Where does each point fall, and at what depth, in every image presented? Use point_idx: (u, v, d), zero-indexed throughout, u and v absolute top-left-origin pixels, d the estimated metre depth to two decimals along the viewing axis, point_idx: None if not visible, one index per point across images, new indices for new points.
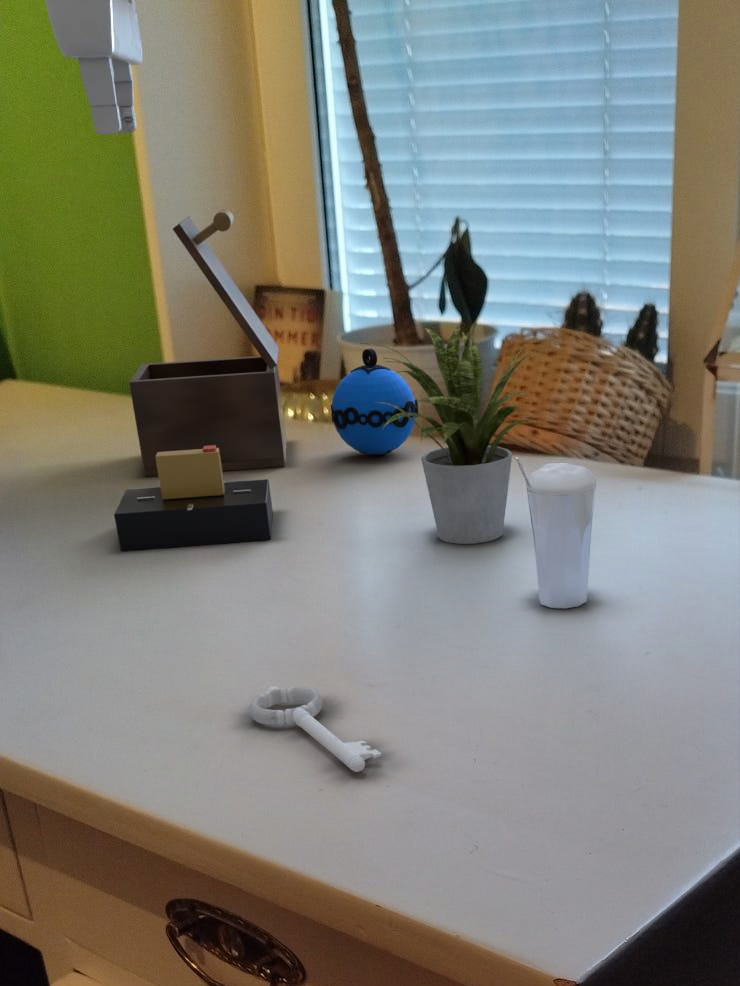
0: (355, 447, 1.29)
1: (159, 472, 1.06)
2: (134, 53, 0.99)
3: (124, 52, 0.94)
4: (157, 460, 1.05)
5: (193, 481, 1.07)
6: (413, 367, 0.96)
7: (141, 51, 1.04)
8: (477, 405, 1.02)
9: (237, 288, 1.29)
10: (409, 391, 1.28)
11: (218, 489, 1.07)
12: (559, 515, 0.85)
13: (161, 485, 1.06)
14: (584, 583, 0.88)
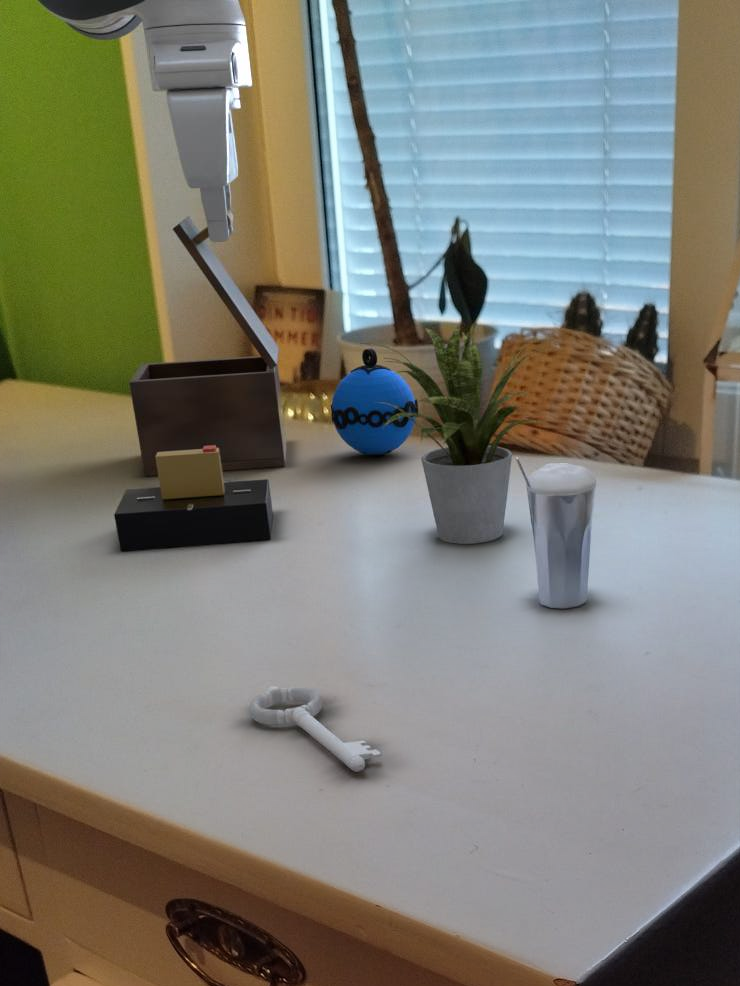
0: (355, 447, 1.29)
1: (159, 472, 1.06)
2: (235, 174, 1.24)
3: None
4: (157, 460, 1.05)
5: (193, 481, 1.07)
6: (413, 367, 0.96)
7: (237, 168, 1.28)
8: (477, 405, 1.02)
9: (237, 288, 1.29)
10: (409, 391, 1.28)
11: (218, 489, 1.07)
12: (559, 515, 0.85)
13: (161, 485, 1.06)
14: (584, 583, 0.88)
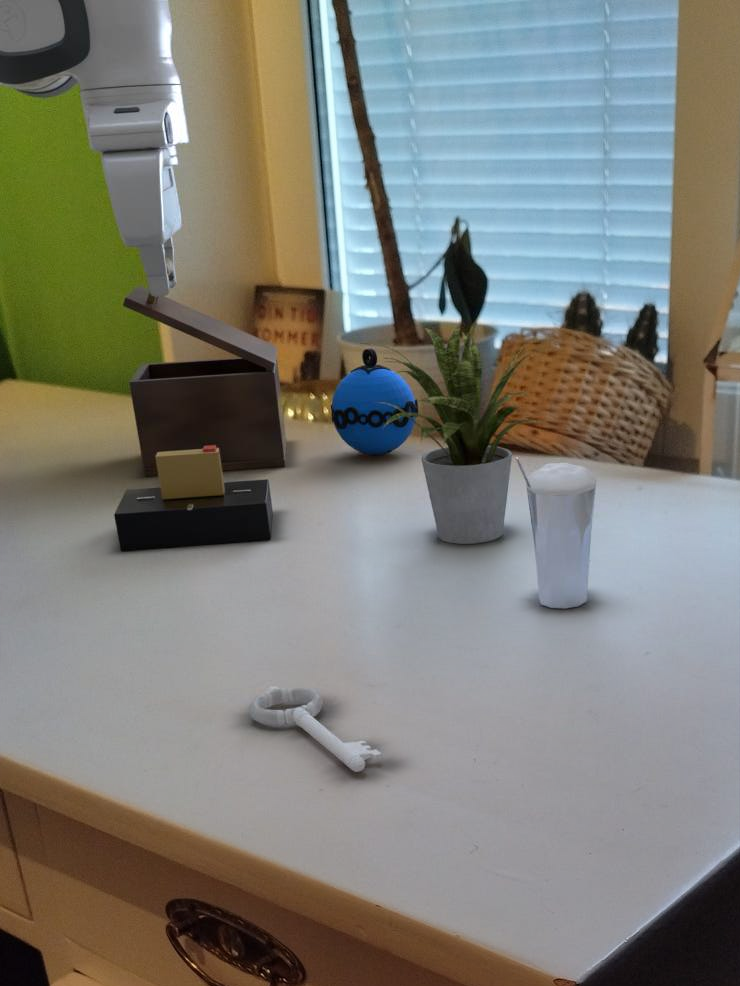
0: (355, 447, 1.29)
1: (159, 472, 1.06)
2: (176, 227, 1.25)
3: (170, 234, 1.20)
4: (157, 460, 1.05)
5: (193, 481, 1.07)
6: (413, 367, 0.96)
7: (180, 220, 1.29)
8: (477, 405, 1.02)
9: (212, 318, 1.31)
10: (409, 391, 1.28)
11: (218, 489, 1.07)
12: (559, 515, 0.85)
13: (161, 485, 1.06)
14: (584, 583, 0.88)
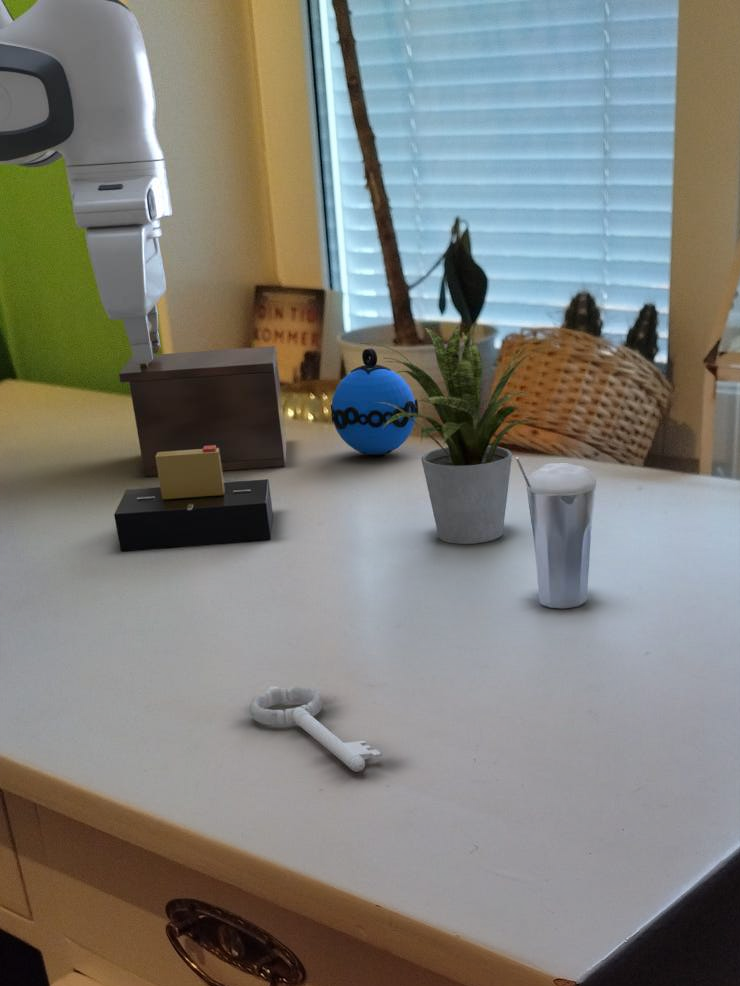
0: (355, 447, 1.29)
1: (159, 472, 1.06)
2: (160, 294, 1.28)
3: (154, 303, 1.23)
4: (157, 460, 1.05)
5: (193, 481, 1.07)
6: (413, 367, 0.96)
7: (165, 284, 1.32)
8: (477, 405, 1.02)
9: (207, 351, 1.32)
10: (409, 391, 1.28)
11: (218, 489, 1.07)
12: (559, 515, 0.85)
13: (161, 485, 1.06)
14: (584, 583, 0.88)
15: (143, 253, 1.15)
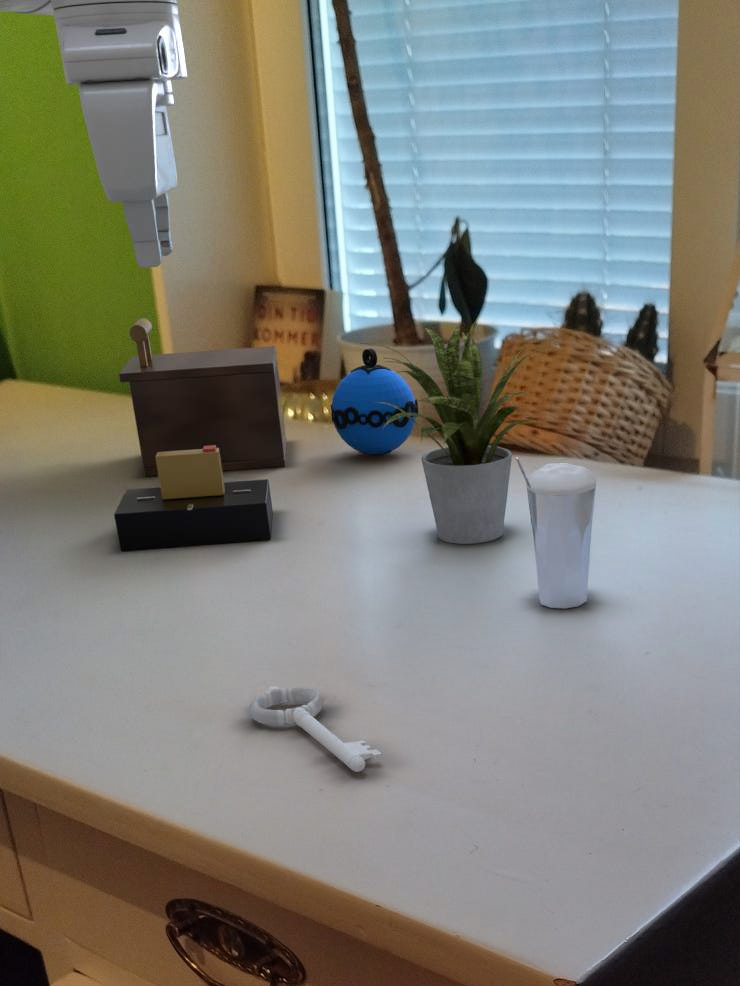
0: (355, 447, 1.29)
1: (159, 472, 1.06)
2: (171, 183, 1.04)
3: (164, 189, 0.98)
4: (157, 460, 1.05)
5: (193, 481, 1.07)
6: (413, 367, 0.96)
7: (176, 176, 1.08)
8: (477, 405, 1.02)
9: (207, 351, 1.32)
10: (409, 391, 1.28)
11: (218, 489, 1.07)
12: (559, 515, 0.85)
13: (161, 485, 1.06)
14: (584, 583, 0.88)
15: (152, 115, 0.91)
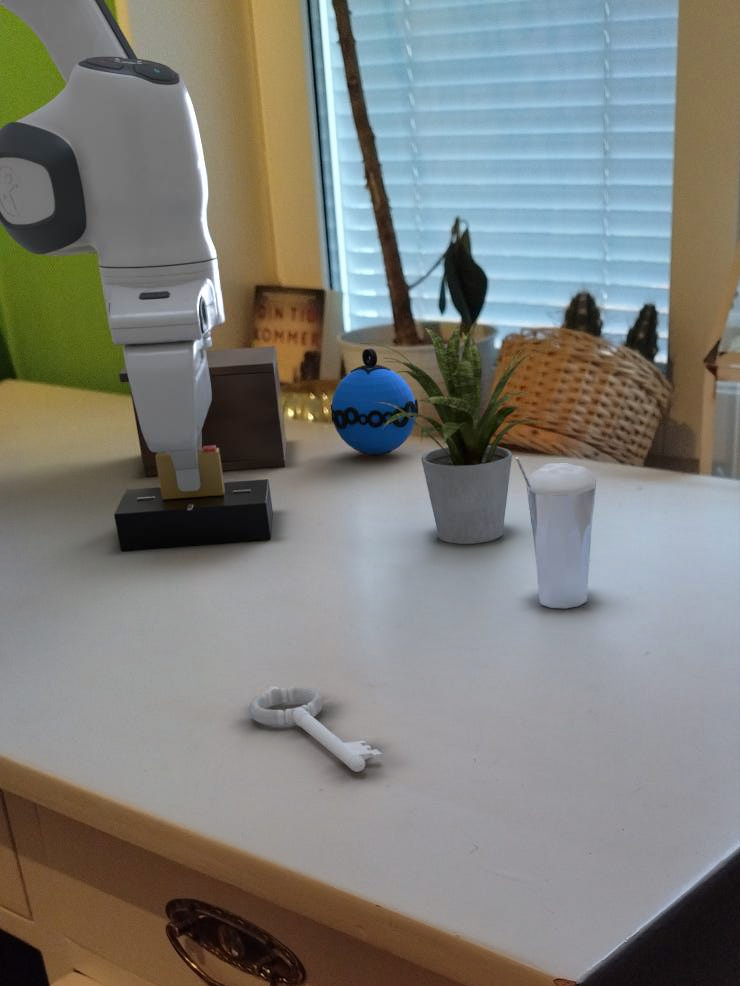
0: (355, 447, 1.29)
1: (159, 472, 1.06)
2: (207, 409, 1.08)
3: (202, 426, 1.03)
4: (157, 460, 1.05)
5: None
6: (413, 367, 0.96)
7: (211, 394, 1.12)
8: (477, 405, 1.02)
9: (207, 351, 1.32)
10: (409, 391, 1.28)
11: (218, 489, 1.07)
12: (559, 515, 0.85)
13: (161, 485, 1.06)
14: (584, 583, 0.88)
15: (193, 376, 0.95)
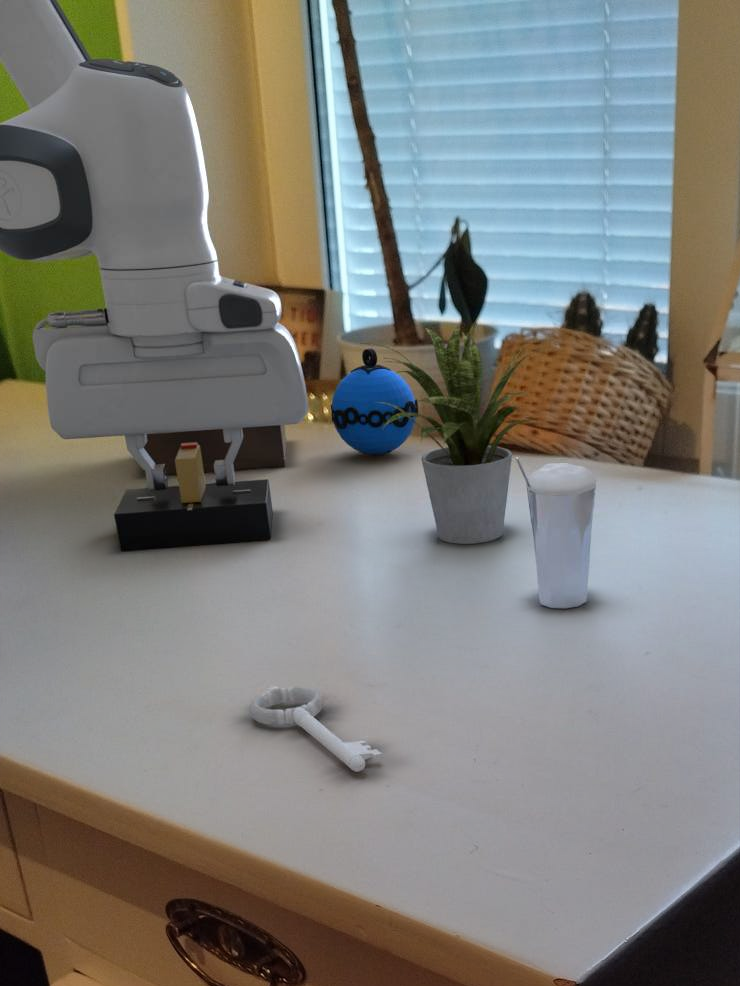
0: (355, 447, 1.29)
1: (197, 474, 1.05)
2: None
3: None
4: (195, 462, 1.04)
5: (201, 477, 1.08)
6: (413, 367, 0.96)
7: None
8: (477, 405, 1.02)
9: None
10: (409, 391, 1.28)
11: (204, 482, 1.10)
12: (559, 515, 0.85)
13: (199, 487, 1.05)
14: (584, 583, 0.88)
15: None
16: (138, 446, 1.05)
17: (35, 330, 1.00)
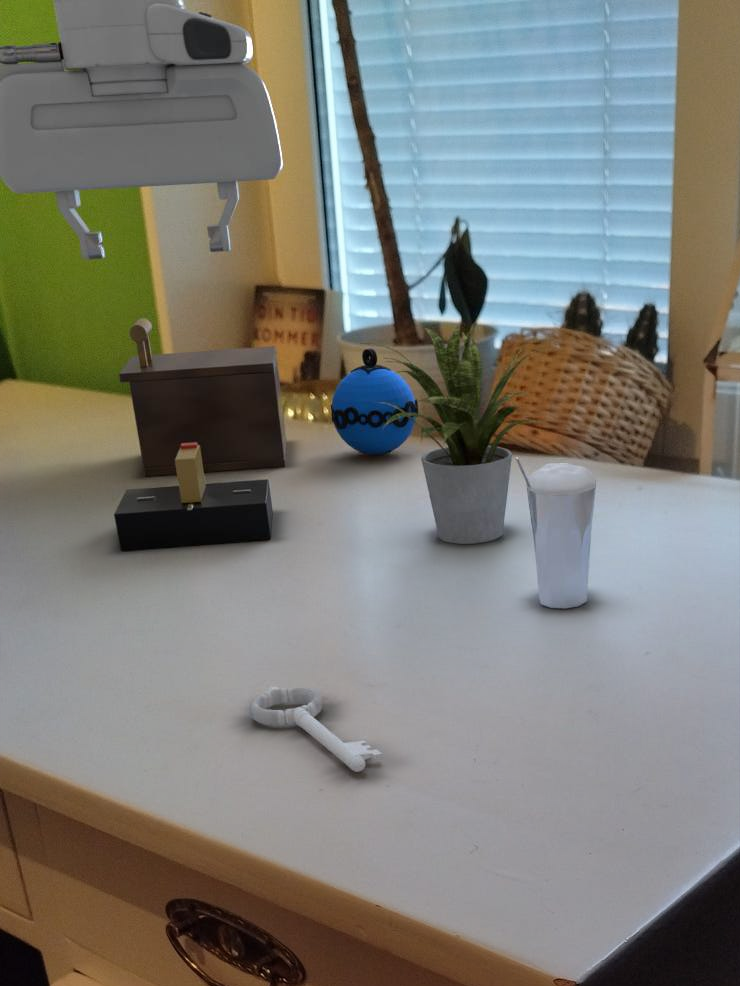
0: (355, 447, 1.29)
1: (197, 474, 1.05)
2: None
3: None
4: (195, 462, 1.04)
5: (201, 477, 1.08)
6: (413, 367, 0.96)
7: None
8: (477, 405, 1.02)
9: (207, 351, 1.32)
10: (409, 391, 1.28)
11: (204, 482, 1.10)
12: (559, 515, 0.85)
13: (199, 487, 1.05)
14: (584, 583, 0.88)
15: None
16: (70, 205, 0.96)
17: None
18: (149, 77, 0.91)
